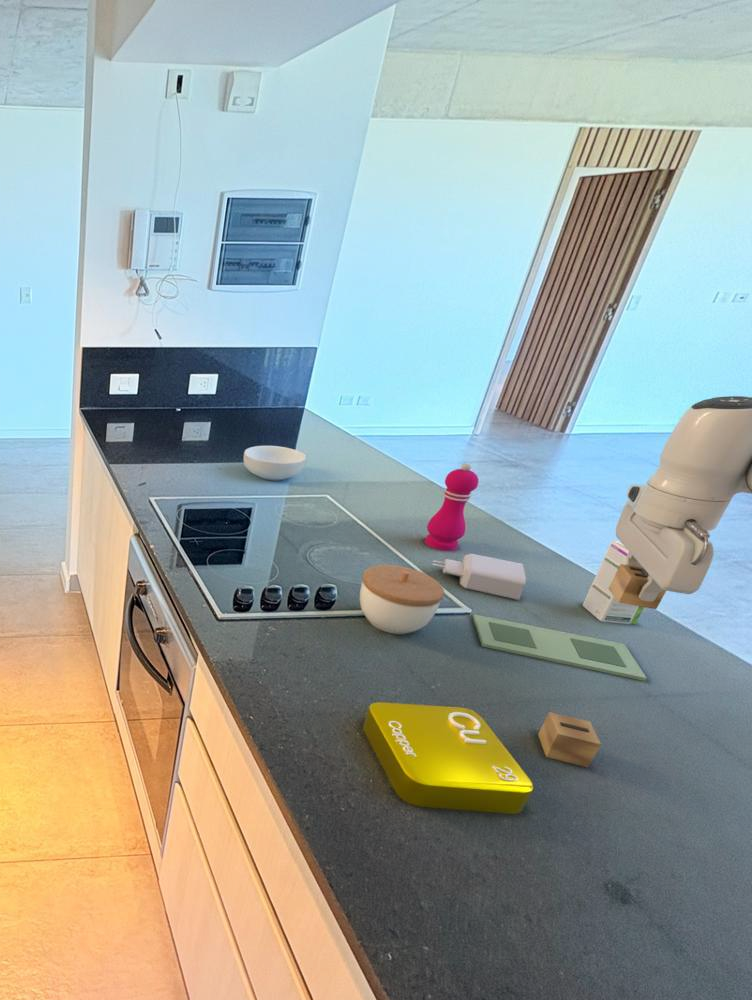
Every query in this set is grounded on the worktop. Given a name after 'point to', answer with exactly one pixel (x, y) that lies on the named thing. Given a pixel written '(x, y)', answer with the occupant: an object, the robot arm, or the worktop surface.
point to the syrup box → (600, 595)
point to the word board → (558, 646)
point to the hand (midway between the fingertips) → (636, 589)
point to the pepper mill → (452, 510)
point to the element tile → (445, 758)
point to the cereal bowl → (274, 462)
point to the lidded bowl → (399, 598)
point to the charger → (487, 575)
